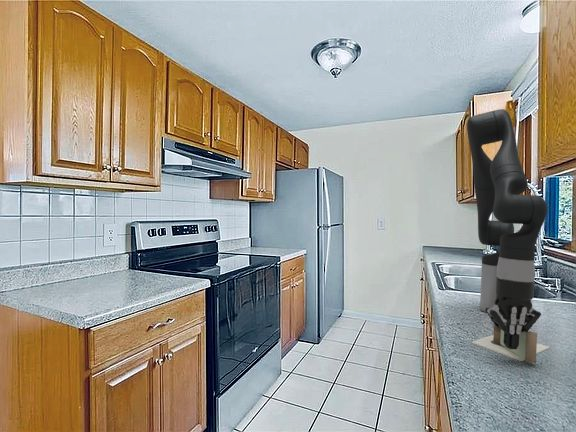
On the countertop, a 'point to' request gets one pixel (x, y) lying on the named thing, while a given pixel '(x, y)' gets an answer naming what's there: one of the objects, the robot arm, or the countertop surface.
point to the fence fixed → (497, 334)
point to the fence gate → (525, 345)
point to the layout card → (490, 345)
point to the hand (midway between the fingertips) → (510, 347)
